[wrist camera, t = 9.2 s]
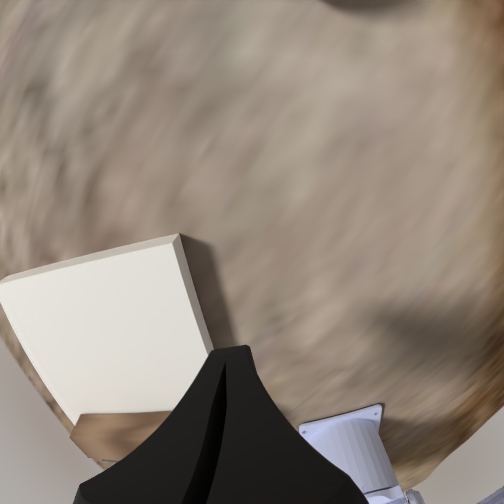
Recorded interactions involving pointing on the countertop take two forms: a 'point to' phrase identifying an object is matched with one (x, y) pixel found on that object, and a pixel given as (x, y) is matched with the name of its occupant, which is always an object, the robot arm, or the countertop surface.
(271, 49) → the countertop surface
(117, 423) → the folding leg
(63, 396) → the stool seat
